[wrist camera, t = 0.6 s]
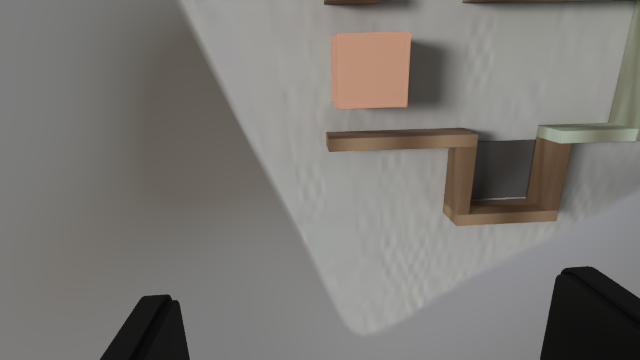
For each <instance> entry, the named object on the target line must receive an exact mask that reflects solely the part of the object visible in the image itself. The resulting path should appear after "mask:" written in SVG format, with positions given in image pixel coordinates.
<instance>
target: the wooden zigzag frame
mask: <svg viewBox="0 0 640 360" xmlns="http://www.w3.org/2000/svg"><path fill="white" fill-rule="evenodd" d="M378 1H379V0H324V4H375V3H377V2H378ZM535 1H611V0H463V2H535ZM616 141H640V0H636V5H635V9H634V13H633V18H632V22H631V26H630V31H629V35H628V39H627V44H626V48H625V52H624V57H623V61H622V65H621V70H620V74H619V78H618V83H617V87H616V91H615V96H614V100H613V104H612V109H611V113H610V117H609V122H608V123H595V124H564V125H539V126H538V132H537V138H536V143H535V140H514V141H485V142H478V134H477V133H474V132H471V131H469V130H466V129H464V128H442V129H412V130H381V131H351V132H326V145H327V147H328V150H329V152H336V151H364V150H392V149H420V148H448V147H449V153H448V163H447V174H446V185H445V195H444V206H443V213H444V214H445V215H446V216H447V217H448V218H449V219H450V220H451V221H452V222H453V223H454V224H455V225H456V226H462V225H483V224H504V223H525V222H546V221H556V219H557V214H558V209H559V204H560V199H561V194H562V189H563V184H564V179H565V174H566V170H567V165H568V160H569V155H570V150H571V145H572V143H588V142H616ZM534 146H535V149H534ZM533 151H534V155H533ZM532 157H533V161H532ZM531 163H532V167H531ZM530 169H531V173H530ZM529 175H530V179H529ZM528 181H529V185H528ZM527 187H528V190H527ZM526 193H527V196H526ZM505 197H526V199H508V200H486V201H471V199H482V198H505Z"/></svg>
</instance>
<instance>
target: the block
mask: <svg viewBox="0 0 640 360" xmlns="http://www.w3.org/2000/svg"><path fill="white" fill-rule="evenodd" d="M410 44H411V32H371V33H337V34H336V35H334V36H333V37H332V38H331V102H332V103H333V104H334V105H335V106H336V107H337V109H353V108H387V107H407V100H408V81H409V63H410Z"/></svg>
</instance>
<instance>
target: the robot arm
mask: <svg viewBox="0 0 640 360" xmlns="http://www.w3.org/2000/svg"><path fill="white" fill-rule="evenodd" d="M100 360H190V359H189V353H188V347H187V342H186V336H185V331H184V326H183V320H182V315H181V309H180V304H179V302H178V301H177V300H172V298H171V296H170V295H154V296H153V295H152V296H144V297H142V298H141V299H140V300H139V302H138V303H137V305H136V306H135V308H134V309H133V311H132V313H131V314H130V315H129V317H128V318H127V320H126V321H125V323H124V324H123V326H122V327H121V329H120V330H119V332H118V333H117V335H116V337H115V338H114V339H113V341H112V342H111V344H110V345H109V347H108V348H107V350H106V351H105V353H104V354H103V356H102V357H101V359H100ZM540 360H640V298H638V297H637V296H635V295H634V294H632V293H631V292H629V291H628V290H626V289H625V288H623V287H622V286H620V285H619V284H618V283H616V282H615V281H613V280H612V279H610V278H609V277H607V276H606V275H604V274H603V273H601V272H599V271H598V270H597V269H595V268H593V267H588V266H586V267H572V268H565V269H564V270H563V271H562V272H561V274H560V275H558V276H557V277H556V280H555V285H554V290H553V295H552V300H551V305H550V310H549V316H548V321H547V326H546V331H545V336H544V341H543V347H542V351H541V357H540Z"/></svg>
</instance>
